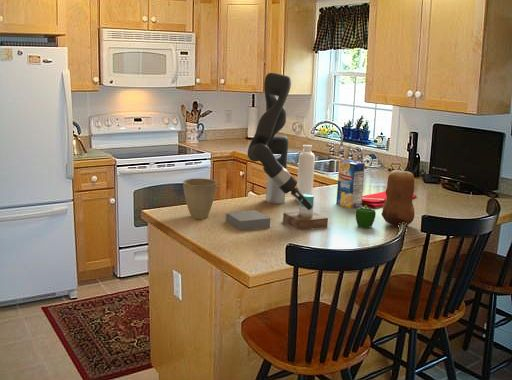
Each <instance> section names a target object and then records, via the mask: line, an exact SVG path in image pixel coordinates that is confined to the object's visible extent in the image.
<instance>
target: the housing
mask: <svg viewBox="0 0 512 380" xmlns="http://www.w3.org/2000/svg"><path fill="white" fill-rule="evenodd" d="M303 195H304V198H305V199H306V200H307V202H308V203H309V204H310V205H311V206H312V208H311V209H310V210H308V209H307V208H306V207H305V206H304V205H303V204H301V202H300V201H298V202H299V203H298V205H299V206H298V211H299V215H300V216H301V217H312V216H313V212H314V202H315V201H314V199H315V196H314V195H313V193H312V194H303ZM303 200H304V199H302V200H301V201H303Z"/></svg>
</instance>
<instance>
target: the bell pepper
mask: <svg viewBox="0 0 512 380" xmlns="http://www.w3.org/2000/svg"><path fill="white" fill-rule="evenodd" d="M376 213H377V212H376V209H372V208H368V207H367V205H365V206H361V207H358V208H356V211H355V221H356V224H357V226H358V227H360V228H363V229H368V228H370V227H372V226H373V224H374V222H375V218H376Z"/></svg>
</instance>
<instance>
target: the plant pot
mask: <svg viewBox="0 0 512 380" xmlns="http://www.w3.org/2000/svg"><path fill="white" fill-rule="evenodd" d="M217 184H218V181H216V180H215V179H210V178H201V177H199V178H195V177H194V178H188V179H184V180H183V181H182V187H183V193H184V198H185V202H186V206H187V209H188V212H189V215H190V217H191V218H192V219H194V220H195V219H197V220H203V219H206V218H208V217H209V215H210V212H211V209H212V207H213V203H214V199H215V195H216V189H217Z"/></svg>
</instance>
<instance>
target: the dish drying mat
mask: <svg viewBox="0 0 512 380" xmlns="http://www.w3.org/2000/svg"><path fill="white" fill-rule="evenodd" d="M386 198H387V195H386V190H384V191H380V192H376V193H370V194H364V195H362V205H361V207H364V206H365V205H367V209H368V208H371V209H372V210H376V209H379V208H383V205H384V203H385V201H386ZM413 198H414V199H416V198H417V194H414V193H413V197H412V200H414V199H413Z"/></svg>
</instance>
